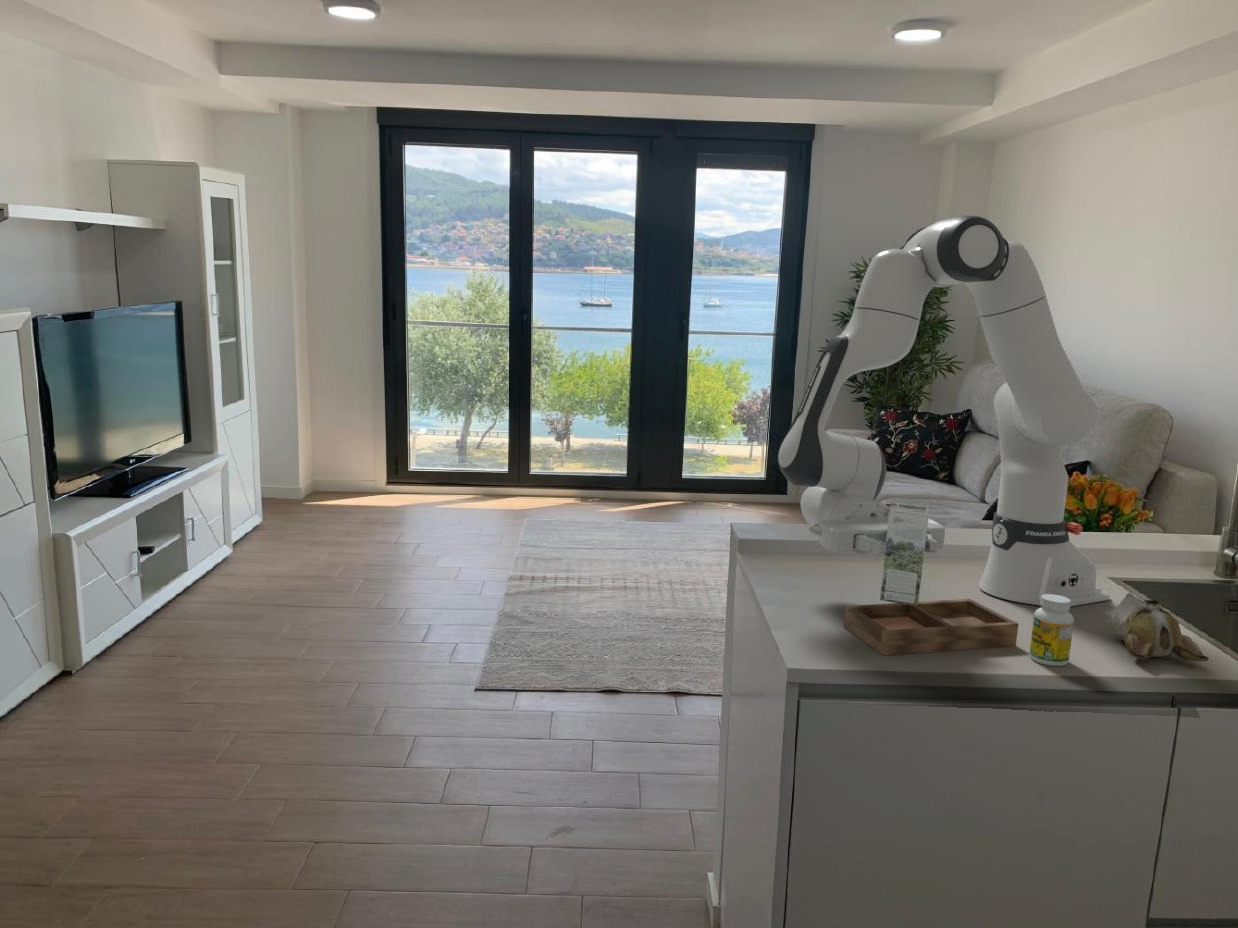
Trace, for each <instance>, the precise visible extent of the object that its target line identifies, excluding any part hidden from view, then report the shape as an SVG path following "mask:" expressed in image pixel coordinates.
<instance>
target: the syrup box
mask: <svg viewBox="0 0 1238 928" xmlns="http://www.w3.org/2000/svg"><path fill="white" fill-rule="evenodd" d="M890 504H891V506H890V512H889V520H888V529H887V538H886V545H887V547H886V553H885V554H884V558H883V567H882V568H883V569H882V577H881V583H880V584H881V585H880V586H881V587H880V595H879V597H880V598H879V601H882V602H883V601H884V602H890V603H902V604H909V605H916V606H917V605H918V602H920V600H919V599H920V591H921V583H922V577H923V576H922V573H923V565H924V557H925V543H926V535H927V527H928V518H929V516H930V515H929V506H923V505H914V504H905V503H897V502H891V503H890Z"/></svg>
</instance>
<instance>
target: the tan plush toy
mask: <svg viewBox="0 0 1238 928" xmlns="http://www.w3.org/2000/svg"><path fill="white" fill-rule="evenodd" d="M1110 628H1111V631H1112V633H1113V634H1114V636H1115V637H1116V638H1117V639H1118V640H1120V641H1124V645H1125V648H1126V649H1127V651H1128V653H1129V654H1130V655H1131V657H1134V658H1136V659H1138V660H1148V659H1149V658H1163V657H1167V656H1170V655H1171V654H1172V653H1174V654H1175V655H1176V656H1177V657H1178V658H1180V659H1182V660H1185V661H1191V662H1208V661H1209V660H1210V659H1209V657H1208V656H1206V655H1204V654H1203V652H1202V650H1201V649H1200V647H1199V645H1198V643H1196V642H1195V641H1193V639H1192V638H1191V637H1190V636H1187V635H1183V634H1182V631H1181V629H1180V628H1181V627H1180V624H1179V621H1178V620H1177V618H1175V616H1173V615H1172V614H1171V613H1169V612H1168V611H1165V610H1164V609H1163V606H1162V605H1161V604H1160V603H1159V602H1158V600H1154V599H1149V600H1148V599H1145V600H1142V599H1140V598H1139V597H1137V596H1135V595H1134V594H1133V593H1131V592H1129V593H1127V594H1126V595H1125V596H1124V598H1123V599H1122V600H1121V601H1120V602H1119V604H1118V605H1117V607H1116V608H1115V610H1114V612H1113V614H1112V615H1111V616H1110Z"/></svg>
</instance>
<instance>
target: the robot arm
mask: <svg viewBox="0 0 1238 928" xmlns="http://www.w3.org/2000/svg"><path fill="white" fill-rule="evenodd" d="M1032 259H1033V258H1032V257H1031V255H1030V253H1029V251H1028V250H1027V248H1026V247H1025V246H1024V245H1023V244H1022V243H1019V242H1016V241H1012V240H1007V239H1006V238H1004V237H1003V235H1002V232H1001V231H1000V229H999V228H998V227H997V226H996V225H995V224H994V223H993V222H992V221H990V220H989V219H986V218H984V217H982V216H977V215H961V216H958V217H953V218H947V219H942V220H939V221H937V222H934V223H933V224H930V225H929V226H925V227H922V228H920V229H918V230H916V231H914V232H913V233H912V234H911V235H910V236H909V237H908V238H907V239H906V240H905V241H904V242H903V244H902V245H901V246H900V247H899V248H890V249H886V250H882V251H880V252H878V253H877V254H875V255H874V257H873V258H872V259H871V261H870V262H869V265H868V267H867V269H866V271H865V274H864V276H863V279H862V282H861V285H860V287H859V291H858V294H857V296H856V300H855V304H854V308H853V311H852V315H851V318H850V319H849V322H848V323H847V325H846V327H845V328H844V329H843V331H842V332H840V334H839V335H836V336H833V337H832V338H830V339H829V340H828V342H827V344H826V345H825V347H824V349H823V351H822V353H821V354H820V357H819V359H818V361H817V364H815V365H816V366H815V368H814V371H813V373H812V375H811V378H810V380H809V383H808V385H807V387H806V390H805V392H804V395H803V396H802V400H801V402H800V405H799V407H798V409H797V412H796V414H795V416H794V419H793V421H792V423H791V425H790V426H789V428H788V430H787V431H786V433H785V436H784V437H783V439H782V440H781V443H780V445H779V448H778V452H777V465H778V466H779V469H780V471H781V473H782V474H783V476H784V477H785V479H786V480H787V481H788V482H789V483H790V484H791V485H793V486H797V487H798V486H799V487H807V488H806V489H805V490H804V491H803V494H802V495H801V498H800V510H801V513H802V515H803V517H804V519H805V521H806V522H807V524H808V525H809V528H808V529H809V530H808V531H809V532H810V533H811V534H813V535H816V536H818V538H817V539H818V543H819V544H821V545H822V546H823V547H824V548H826V550H828V551H830V552H836V553H851V552H853V553H857V554H862V555H863V554H869V553H872V554H874V555H885V553H886V547H887V545H886V538H887V529H888V520H889V512H890V506H891V503H884V502H880V501H878V500H876V499H877V497H878V496H879V494H880V493H881V491H882V489H883V486H884V484H885V480H886V476H887V462H886V458H885V455H884V453H883V451H882V449H881V447H880V446H879V445H878V443H877V441H874V440H870V439H866V438H862V437H857V436H852V435H845V434H842V433H835V432H831V431H827V430H825V427H826V423H827V421H828V418H829V416H830V413H831V411H832V409H833V406H834V404H835V401H836V400H837V396H838V394H839V393H840V388H841V387H842V386H843V384H844V382H846V380H847V379H849V378H850V377H851V376H853V375H856V374H858V373H861V372H865V371H872V370H877V369H882V368H886V367H889V366H892V365H894V364H896V363H898V362H900V360H902V359H903V358H905V357H906V356H907V355H908V354H909V353H910V351H911V349H912V348H913V346H914V343H915V341H916V338H917V333H918V330H919V326H920V325H919V324H920V321H921V316H922V312H923V306H924V303H925V300H926V298H927V296H928V294H929V293H930V292H931V290H932V289H934V288H947V287H948V288H950V287H955V286H958V285H961V284H964V286H966V287H967V289H969V291H970V293H971V294H972V296H973V298H974V302H975V304H976V306H975V307H976V308H977V309H976V310H977V312H978V316H979V320H980V324H981V327H982V330H983V333H984V336H985V340H986V343H987V345H988V350H989V353H990V357H991V358H992V361H993V362H994V363H995V365H996V366H997V367H998V369H999V370H1000V373H1001V375H1002V376H1003V378H1004V380H1005V382H1004V383H1003V384H1002V385H1001V386H1000V387H999V388H998V390H997V391H996V393H995V395H994V399H993V412H994V413H995V417H996V419H997V426H998V428H997V429H998V442H999V444H998V445H999V453H1000V455H999V456H1000V481H999V490H998V499H997V507H996V511H995V512H994V513H993V521H992V527H991V539H992V542H991V547H990V550H989V554H988V558H987V561H986V565H985V568H984V571H983V574H982V575H981V576H982V577H981V578H980V581H979V583H978V588H979V589H980V590H981V591H983V592H985V593H987V594H988V595H991V596H994V597H996V598H1000V599H1004V600H1007V601H1011V602H1016V603H1020V604H1021V603H1023V604H1029V605H1036V606H1039V607H1042V606H1041V604H1040V601H1041V596H1042V595H1045V594H1054V595H1060V596H1064V597H1066V598H1068V599H1070V600H1071V604H1070V607H1075V606H1081V605H1087V604H1093V603H1098V602H1104V601H1105V602H1106V601H1108V600H1110V594H1109V593H1108V592H1107V591H1106V590H1105V589H1103V588H1101V587H1099V586H1097V570H1096V566H1095V563H1094V562H1093V561H1092V560H1091V559H1090V558H1089V557H1088V556H1087V555H1085V554H1084V553H1083V552H1082V551H1081V550H1080V549H1079V548H1078V547H1076V546H1075V544H1073V543H1072V541H1070V535H1069V533H1070V534H1073V535H1075V536H1079V535H1081V533H1082V532H1083V526H1082V524H1080V523H1076V522H1074V521H1071V522H1070V521H1069V522H1067V521H1066V520H1065V519H1064V516H1065V509H1066V500H1067V494H1068V486H1069V485H1068V484H1069V475H1068V472H1067V470H1066V467H1065V463H1064V459H1063V457H1064V456H1063V450H1062V447H1070V446H1075V445H1078V444H1080V443H1082V442H1084V441H1085V440H1087V439H1088V438H1089V437H1090V436H1091V435H1092V434H1093V433H1094V431H1095V430H1096V428H1097V427H1096V426H1097V423H1098V417H1099V412H1098V407H1097V405H1096V403H1095V401H1094V400H1093V398H1092V397H1091V396H1090V395H1089V393H1088V392H1087V390H1085V388H1084V387H1083V384H1082V383H1081V381H1080V379H1079V378H1080V377H1078V374H1077V372H1076V370H1075V368H1074V366H1073V364H1072V362H1071V361H1070V359H1069V357H1068V355H1067V353H1066V351H1065V350H1064V347H1063V345H1062V342H1061V339H1060V338H1059V335H1058V333H1057V329H1056V325H1055V323H1054V320H1053V319H1054V318H1053V316H1052V312H1051V308H1050V305H1049V302H1048V299H1047V298H1048V297H1047V296H1046V291H1045V289H1044V288H1045V287H1044V285H1043V282H1042V280H1041V276H1040V275H1039V272H1038V270H1037V268H1036V265H1035V263H1034V261H1033V260H1032ZM945 535H946V528H945V526H944V525H943V524H942V523H939V522H938V521H936V520H934V519H931V518H929V517H928V527H927V535H926V543H925V551H924V553H925V552H926V553H930V554H933V553H934V554H935V553H937V552H938V550H940V549H943V546H944V543H945V538H946V537H945Z"/></svg>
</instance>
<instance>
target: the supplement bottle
mask: <svg viewBox="0 0 1238 928" xmlns="http://www.w3.org/2000/svg"><path fill="white" fill-rule="evenodd" d="M1040 604H1041V606H1040V607H1039V608H1037V609H1036V610H1035V611H1034V613H1033V621H1032V627H1031V628H1032V629H1031V638H1030V648H1029V657H1030V658H1031V659H1032V660H1033V661H1034V662H1036V663H1038V664H1042V665H1046V666H1050V667H1064V666H1067V664H1069V661H1070V653H1071V645H1072V639H1073V630H1074V623H1075V622H1074V620H1075V618H1074V616H1073V614H1072V613H1071V612H1069V611H1070V609H1071V606H1070V604H1071V600H1070V599H1068V598H1066V597H1064V596H1060V595H1054V594H1045V595H1042V596H1041V601H1040Z"/></svg>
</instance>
